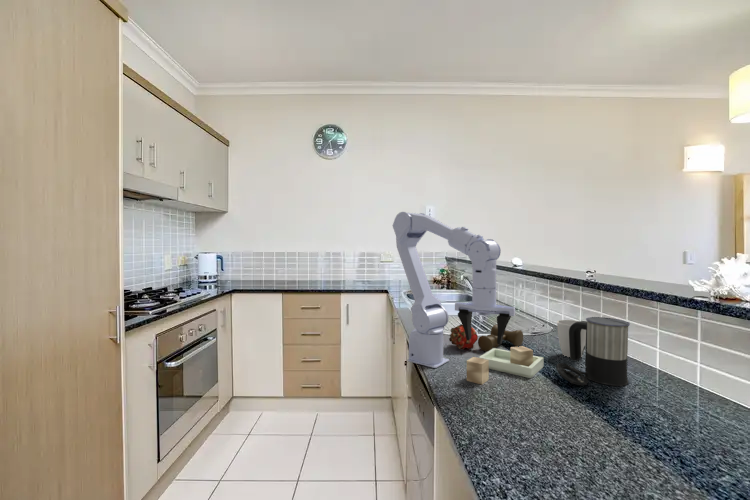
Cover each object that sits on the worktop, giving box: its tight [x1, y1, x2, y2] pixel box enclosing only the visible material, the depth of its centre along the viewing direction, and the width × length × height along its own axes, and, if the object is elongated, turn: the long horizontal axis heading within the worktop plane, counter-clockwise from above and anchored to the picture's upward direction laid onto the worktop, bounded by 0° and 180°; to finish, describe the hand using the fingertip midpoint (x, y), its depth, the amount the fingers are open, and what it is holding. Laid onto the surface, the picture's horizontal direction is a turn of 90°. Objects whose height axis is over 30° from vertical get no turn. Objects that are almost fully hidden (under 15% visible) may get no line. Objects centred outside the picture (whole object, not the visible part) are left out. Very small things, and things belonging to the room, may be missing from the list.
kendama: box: [477, 324, 524, 353], centre depth 118 cm, size 6×10×20 cm
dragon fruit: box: [448, 323, 479, 351], centre depth 115 cm, size 8×8×12 cm
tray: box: [477, 347, 545, 379], centre depth 98 cm, size 14×11×2 cm
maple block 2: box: [509, 345, 534, 367], centre depth 95 cm, size 4×4×5 cm
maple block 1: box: [466, 356, 490, 386], centre depth 88 cm, size 4×4×5 cm
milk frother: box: [555, 316, 631, 387], centre depth 88 cm, size 14×16×15 cm
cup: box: [556, 319, 586, 358], centre depth 107 cm, size 8×8×10 cm
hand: (483, 341), depth 89 cm, fingers open, 7 cm apart
